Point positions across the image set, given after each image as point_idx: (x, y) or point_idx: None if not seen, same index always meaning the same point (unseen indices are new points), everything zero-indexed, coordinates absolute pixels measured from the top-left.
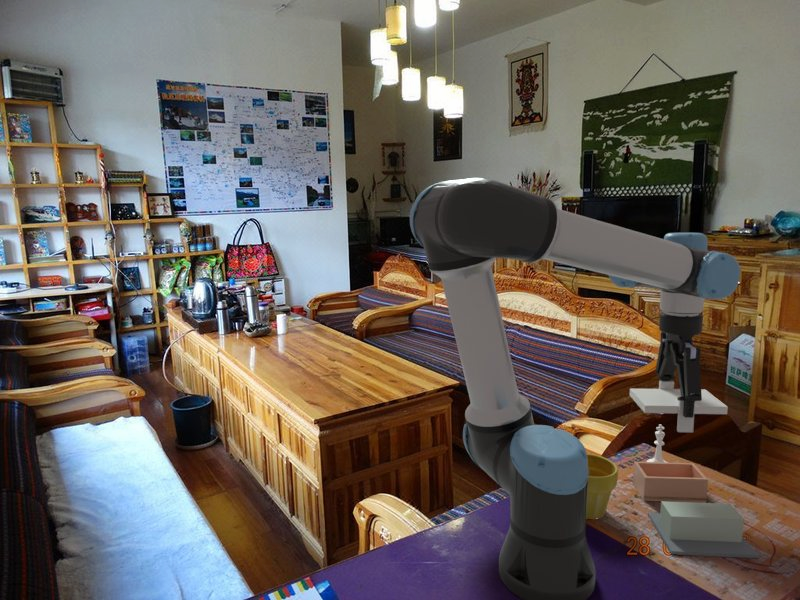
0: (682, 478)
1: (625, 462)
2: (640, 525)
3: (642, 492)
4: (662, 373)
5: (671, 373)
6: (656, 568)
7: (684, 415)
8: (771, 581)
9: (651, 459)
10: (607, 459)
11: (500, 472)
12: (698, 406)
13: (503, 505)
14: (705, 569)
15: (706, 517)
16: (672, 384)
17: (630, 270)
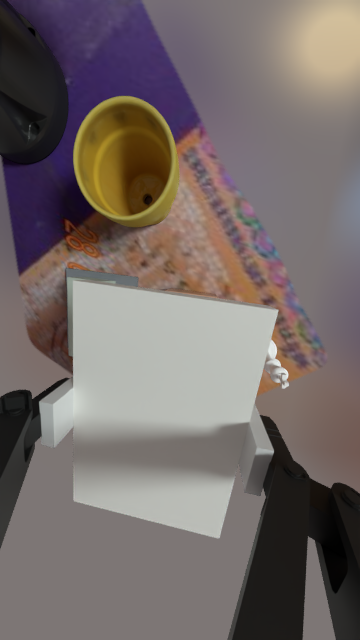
0: None
1: (279, 311)
2: (118, 259)
3: (176, 289)
4: (267, 498)
5: (256, 533)
6: (46, 241)
7: (66, 380)
8: (40, 336)
9: (270, 347)
10: (145, 211)
11: None
12: (73, 438)
13: (167, 58)
14: (49, 289)
15: (68, 317)
16: (244, 476)
17: None
